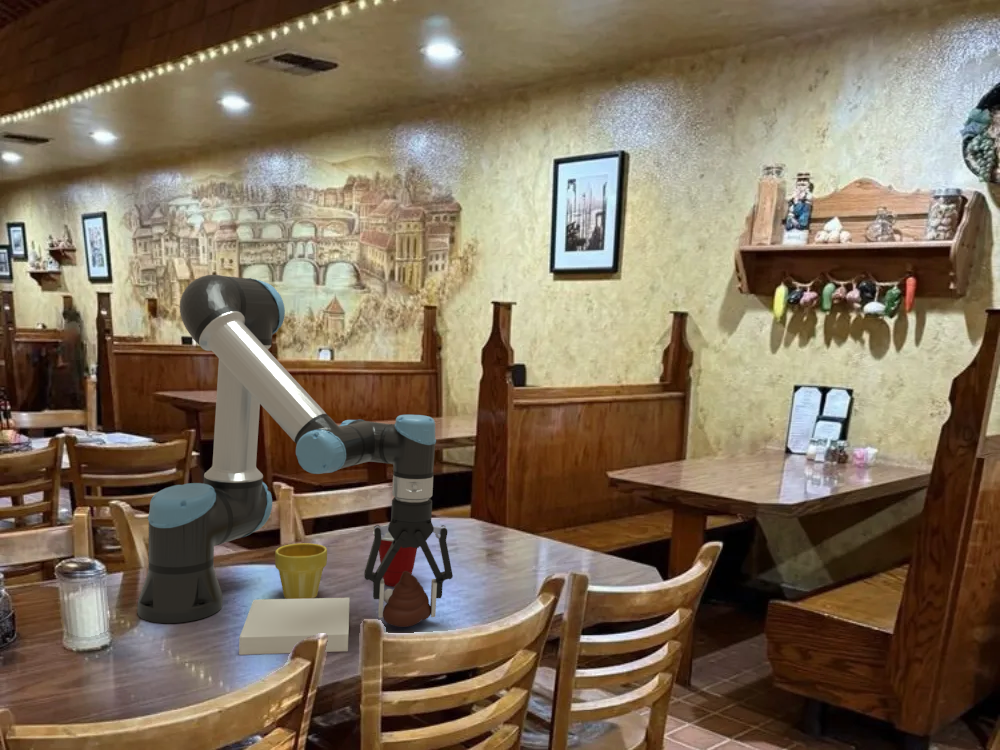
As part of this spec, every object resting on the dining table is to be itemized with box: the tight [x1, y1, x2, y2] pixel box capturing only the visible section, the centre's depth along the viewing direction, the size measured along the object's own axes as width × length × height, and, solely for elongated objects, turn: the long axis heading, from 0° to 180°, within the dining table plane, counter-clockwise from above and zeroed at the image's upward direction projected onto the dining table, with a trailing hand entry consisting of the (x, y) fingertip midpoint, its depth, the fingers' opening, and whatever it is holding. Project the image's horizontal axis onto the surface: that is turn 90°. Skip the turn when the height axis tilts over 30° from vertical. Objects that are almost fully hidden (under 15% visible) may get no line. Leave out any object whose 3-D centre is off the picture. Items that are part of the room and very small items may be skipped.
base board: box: [238, 597, 351, 656], centre depth 140 cm, size 18×18×3 cm
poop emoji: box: [382, 571, 431, 628], centre depth 146 cm, size 10×8×9 cm
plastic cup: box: [372, 524, 418, 588], centre depth 169 cm, size 11×11×12 cm
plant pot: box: [274, 542, 328, 599], centre depth 158 cm, size 10×10×10 cm
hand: (406, 614), depth 146 cm, fingers closed on poop emoji, 9 cm apart
